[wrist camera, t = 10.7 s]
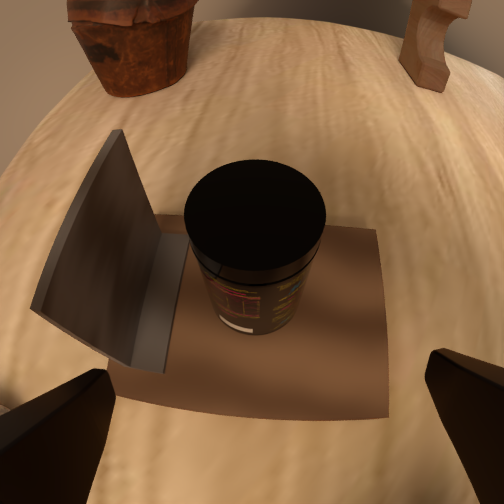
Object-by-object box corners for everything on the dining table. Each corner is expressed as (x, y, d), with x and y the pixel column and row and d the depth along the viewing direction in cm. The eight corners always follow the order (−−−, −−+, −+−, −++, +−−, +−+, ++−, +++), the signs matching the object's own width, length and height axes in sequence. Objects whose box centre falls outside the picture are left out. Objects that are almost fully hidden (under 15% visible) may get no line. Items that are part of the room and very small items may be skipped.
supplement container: (309, 270, 21) (336, 176, 14) (286, 350, 18) (309, 290, 11) (229, 247, 22) (215, 149, 15) (197, 322, 19) (158, 247, 12)
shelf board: (379, 418, 17) (493, 396, 7) (112, 394, 18) (-3, 350, 8) (370, 240, 24) (423, 128, 15) (152, 225, 25) (108, 111, 15)
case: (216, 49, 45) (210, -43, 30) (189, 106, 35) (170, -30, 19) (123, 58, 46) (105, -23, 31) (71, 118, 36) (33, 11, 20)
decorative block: (443, 94, 40) (474, -4, 22) (415, 86, 40) (442, -19, 23) (423, 67, 45) (445, -18, 28) (397, 60, 46) (417, -29, 29)
